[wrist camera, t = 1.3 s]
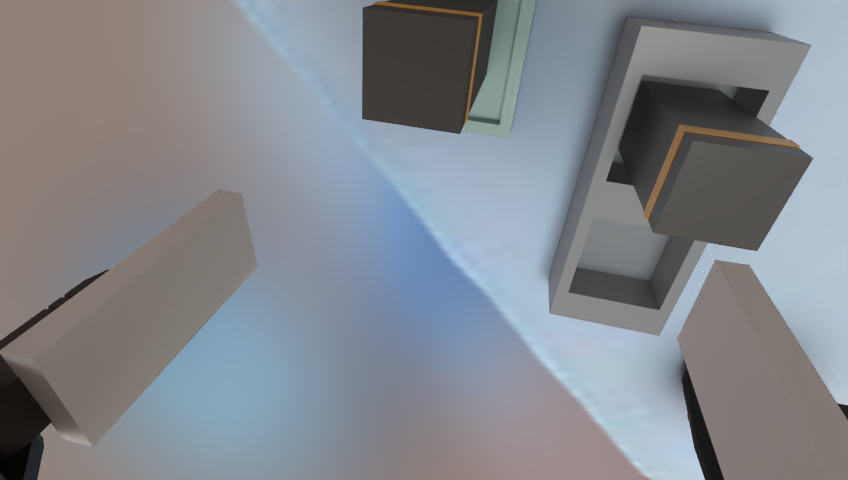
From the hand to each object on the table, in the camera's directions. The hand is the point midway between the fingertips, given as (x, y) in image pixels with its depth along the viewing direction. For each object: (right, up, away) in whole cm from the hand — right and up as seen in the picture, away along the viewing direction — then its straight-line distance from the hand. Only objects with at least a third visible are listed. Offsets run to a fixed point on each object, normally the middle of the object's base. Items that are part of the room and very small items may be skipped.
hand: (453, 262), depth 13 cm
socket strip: (+14, +5, +19) cm, 24 cm away
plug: (+1, +14, +16) cm, 21 cm away
